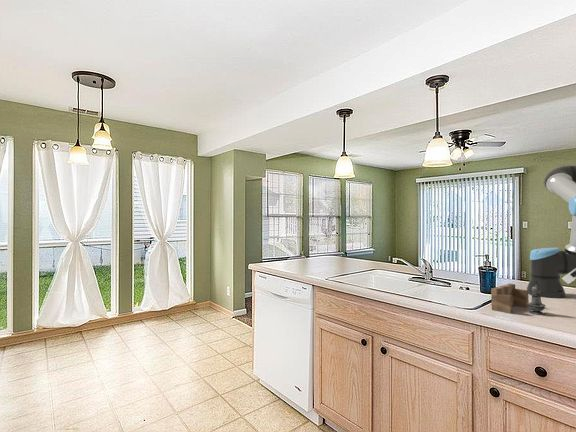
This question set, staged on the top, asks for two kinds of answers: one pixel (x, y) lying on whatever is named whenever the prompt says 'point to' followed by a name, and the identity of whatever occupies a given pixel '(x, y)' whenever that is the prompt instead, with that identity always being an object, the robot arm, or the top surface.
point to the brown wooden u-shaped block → (508, 298)
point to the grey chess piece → (536, 302)
